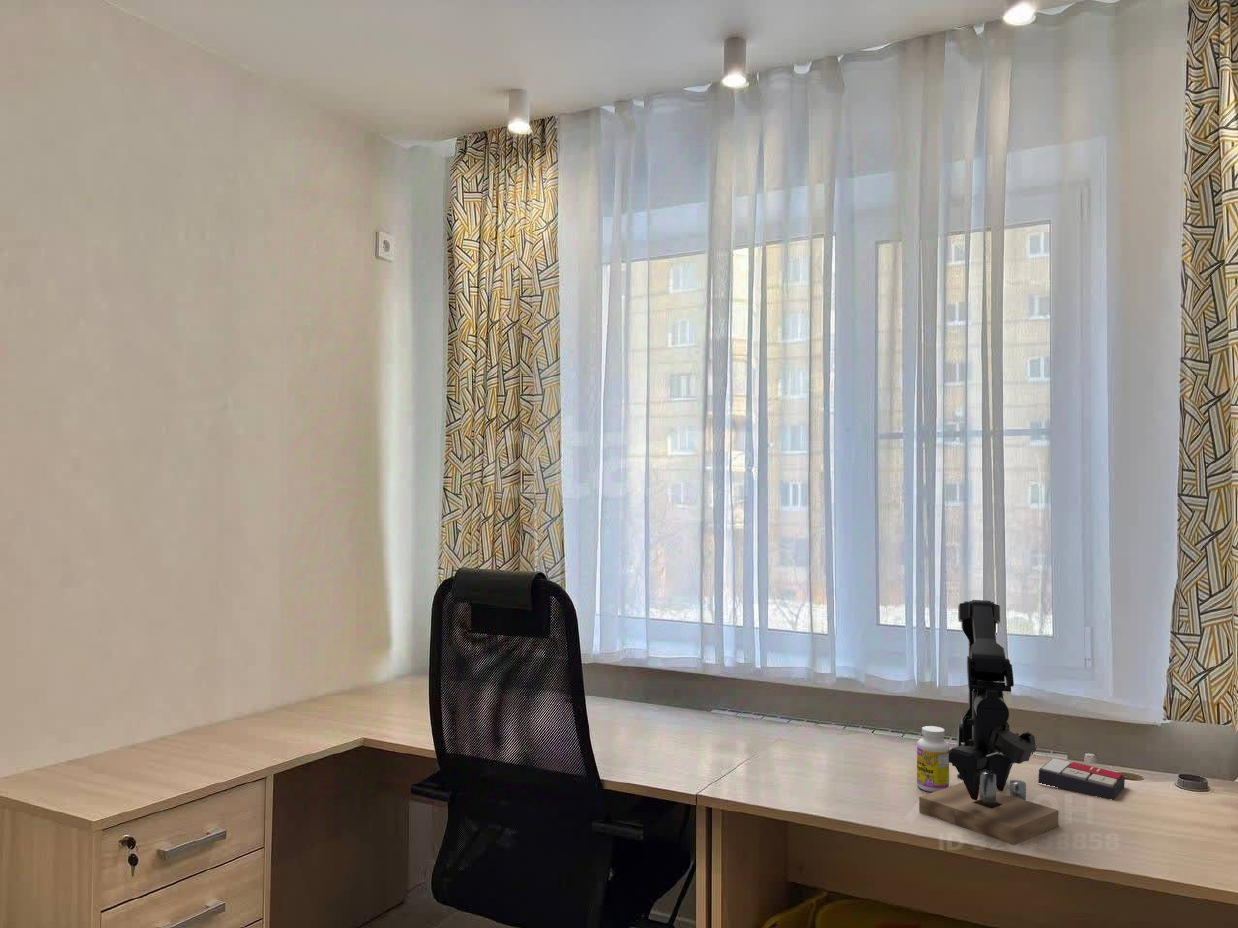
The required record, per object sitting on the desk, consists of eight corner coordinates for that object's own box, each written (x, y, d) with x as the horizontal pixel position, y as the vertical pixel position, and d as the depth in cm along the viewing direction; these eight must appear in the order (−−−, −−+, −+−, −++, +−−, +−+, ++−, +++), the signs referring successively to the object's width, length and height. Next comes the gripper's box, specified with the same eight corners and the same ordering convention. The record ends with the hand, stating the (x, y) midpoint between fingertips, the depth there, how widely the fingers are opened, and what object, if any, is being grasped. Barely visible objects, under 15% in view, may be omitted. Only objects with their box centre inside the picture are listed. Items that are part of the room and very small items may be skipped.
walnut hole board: (919, 811, 178) (919, 796, 179) (964, 796, 188) (964, 781, 188) (1014, 844, 162) (1014, 827, 162) (1058, 825, 172) (1058, 809, 172)
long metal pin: (976, 817, 175) (976, 771, 176) (985, 814, 177) (985, 769, 178) (990, 822, 173) (990, 775, 173) (999, 819, 175) (999, 773, 175)
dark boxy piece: (1114, 784, 187) (1038, 765, 197) (1113, 805, 187) (1037, 785, 197) (1125, 772, 195) (1052, 755, 205) (1124, 792, 195) (1050, 773, 205)
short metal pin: (1007, 803, 184) (1007, 781, 184) (1015, 800, 186) (1015, 778, 186) (1021, 807, 182) (1021, 785, 182) (1028, 804, 183) (1028, 782, 184)
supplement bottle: (910, 785, 195) (910, 726, 195) (933, 781, 197) (933, 723, 198) (932, 794, 189) (932, 733, 189) (956, 791, 191) (956, 730, 192)
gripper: (1000, 731, 164) (1000, 817, 163) (1052, 717, 175) (1052, 797, 174) (946, 718, 173) (946, 799, 172) (999, 705, 184) (998, 782, 183)
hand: (987, 794), depth 175 cm, fingers open, 9 cm apart
